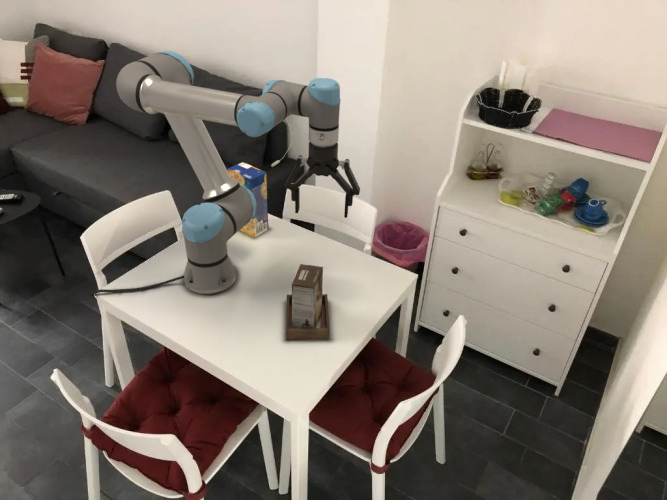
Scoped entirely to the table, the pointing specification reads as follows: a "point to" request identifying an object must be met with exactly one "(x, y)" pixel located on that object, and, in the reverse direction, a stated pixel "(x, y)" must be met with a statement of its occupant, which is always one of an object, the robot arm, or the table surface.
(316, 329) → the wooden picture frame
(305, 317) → the coffee box
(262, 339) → the table surface
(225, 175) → the robot arm
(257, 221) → the beverage box
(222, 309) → the table surface
